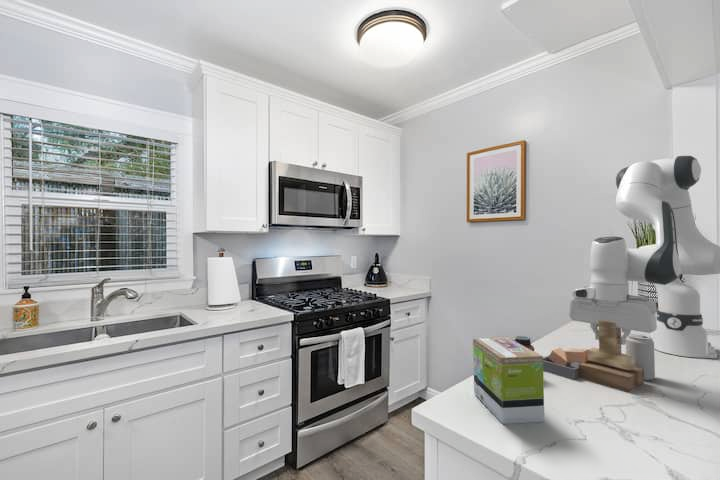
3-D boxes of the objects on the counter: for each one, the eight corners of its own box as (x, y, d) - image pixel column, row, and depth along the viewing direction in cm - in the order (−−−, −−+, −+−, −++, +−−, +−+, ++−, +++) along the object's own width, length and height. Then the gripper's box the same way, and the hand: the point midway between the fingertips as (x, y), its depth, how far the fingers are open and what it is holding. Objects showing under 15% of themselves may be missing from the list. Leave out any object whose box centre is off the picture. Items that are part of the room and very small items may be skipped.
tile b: (574, 358, 105) (572, 348, 105) (592, 359, 101) (589, 349, 101) (567, 361, 102) (564, 351, 102) (585, 362, 98) (582, 352, 98)
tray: (562, 359, 113) (562, 350, 113) (598, 368, 105) (597, 358, 105) (537, 369, 104) (537, 359, 104) (574, 380, 96) (574, 369, 96)
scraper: (587, 360, 98) (586, 318, 98) (593, 357, 100) (592, 317, 101) (629, 370, 90) (628, 325, 90) (634, 367, 92) (633, 323, 93)
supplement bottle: (534, 374, 100) (534, 336, 100) (535, 381, 95) (535, 341, 95) (512, 371, 103) (512, 334, 103) (512, 378, 97) (512, 338, 97)
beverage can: (660, 382, 94) (659, 339, 94) (634, 380, 95) (633, 338, 95) (646, 373, 100) (645, 333, 100) (621, 372, 101) (621, 332, 102)
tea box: (472, 394, 87) (471, 337, 87) (509, 393, 87) (508, 336, 88) (501, 425, 72) (501, 356, 72) (546, 423, 72) (545, 354, 73)
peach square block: (575, 358, 105) (570, 365, 106) (559, 347, 108) (555, 354, 110) (567, 361, 102) (562, 369, 103) (552, 350, 106) (547, 357, 107)
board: (594, 370, 103) (594, 357, 103) (643, 383, 93) (643, 368, 93) (578, 378, 97) (578, 364, 97) (629, 392, 87) (629, 377, 87)
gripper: (660, 296, 89) (661, 349, 89) (575, 288, 106) (576, 332, 105) (652, 298, 85) (653, 353, 85) (566, 290, 102) (566, 335, 102)
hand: (610, 341), depth 95 cm, fingers closed on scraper, 4 cm apart
